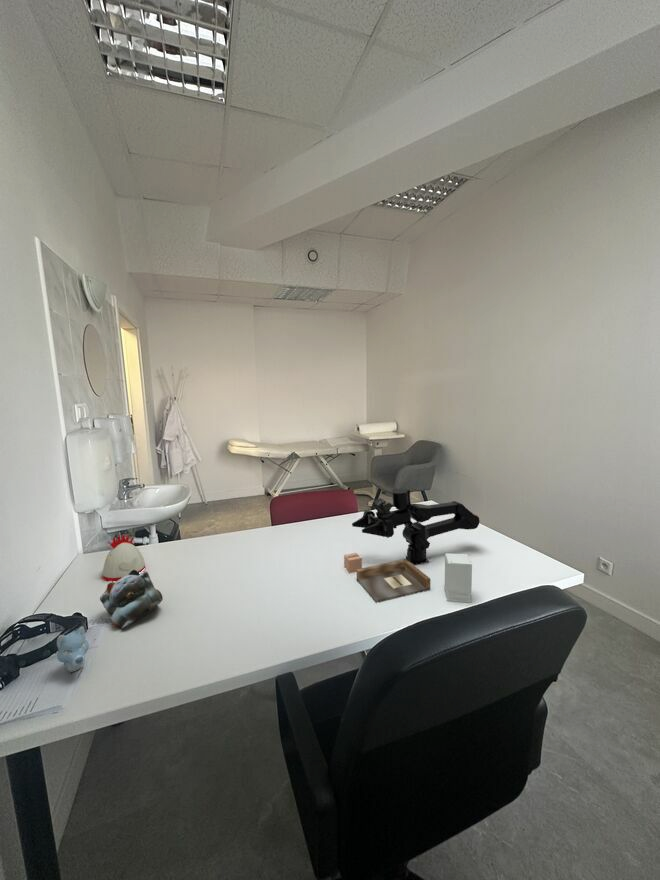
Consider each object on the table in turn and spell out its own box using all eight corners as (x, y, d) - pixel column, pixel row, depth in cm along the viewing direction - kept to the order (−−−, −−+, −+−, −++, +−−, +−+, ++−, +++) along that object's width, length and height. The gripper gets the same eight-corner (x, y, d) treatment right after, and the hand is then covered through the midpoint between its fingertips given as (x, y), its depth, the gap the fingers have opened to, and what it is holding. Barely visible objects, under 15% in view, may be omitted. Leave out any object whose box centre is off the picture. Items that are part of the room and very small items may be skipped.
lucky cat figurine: (109, 637, 99) (89, 590, 100) (116, 629, 109) (98, 587, 111) (164, 605, 105) (145, 562, 107) (166, 601, 116) (149, 561, 118)
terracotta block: (356, 565, 137) (356, 552, 137) (361, 570, 133) (361, 558, 132) (344, 567, 136) (344, 554, 135) (349, 573, 131) (349, 560, 130)
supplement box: (471, 603, 111) (472, 564, 109) (446, 601, 112) (447, 562, 111) (467, 590, 118) (468, 554, 116) (444, 588, 119) (444, 552, 118)
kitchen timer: (98, 573, 135) (94, 535, 133) (137, 560, 145) (134, 525, 143) (110, 586, 126) (105, 545, 124) (151, 571, 136) (147, 533, 134)
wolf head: (66, 688, 81) (61, 648, 80) (56, 669, 87) (52, 631, 86) (97, 672, 86) (93, 634, 85) (86, 655, 92) (82, 619, 90)
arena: (406, 569, 133) (406, 559, 132) (430, 589, 119) (430, 578, 118) (356, 580, 126) (356, 569, 126) (376, 602, 112) (376, 590, 112)
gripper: (380, 493, 143) (344, 501, 138) (404, 501, 125) (364, 511, 120) (384, 520, 144) (348, 529, 139) (409, 532, 126) (368, 543, 121)
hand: (357, 527), depth 130 cm, fingers open, 9 cm apart
